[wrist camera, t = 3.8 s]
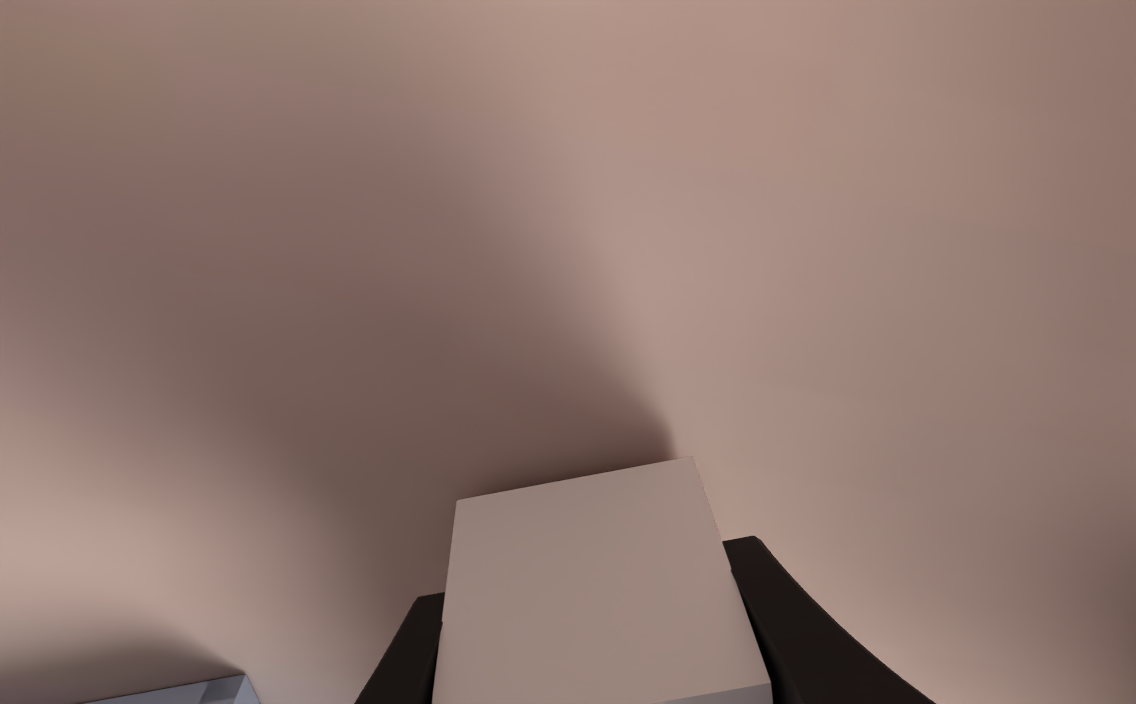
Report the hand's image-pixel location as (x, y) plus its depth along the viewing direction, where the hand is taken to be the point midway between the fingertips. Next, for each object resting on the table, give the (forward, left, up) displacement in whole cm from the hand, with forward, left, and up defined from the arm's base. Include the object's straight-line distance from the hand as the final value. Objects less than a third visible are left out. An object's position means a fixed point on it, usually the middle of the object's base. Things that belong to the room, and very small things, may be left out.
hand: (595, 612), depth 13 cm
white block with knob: (-4, 0, -2) cm, 4 cm away
